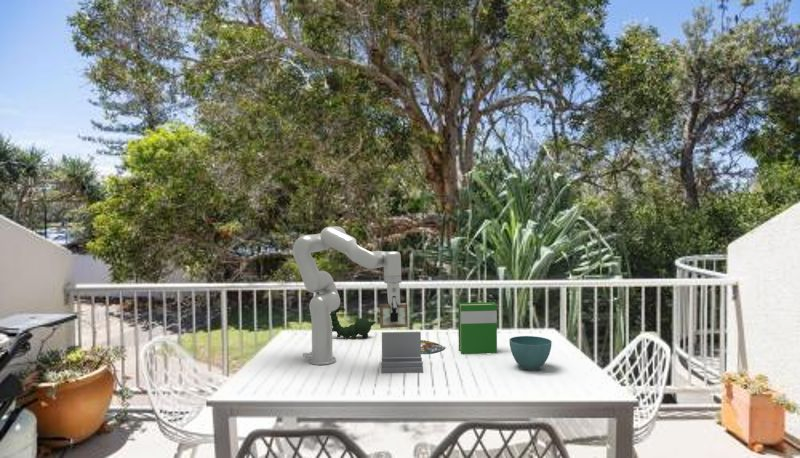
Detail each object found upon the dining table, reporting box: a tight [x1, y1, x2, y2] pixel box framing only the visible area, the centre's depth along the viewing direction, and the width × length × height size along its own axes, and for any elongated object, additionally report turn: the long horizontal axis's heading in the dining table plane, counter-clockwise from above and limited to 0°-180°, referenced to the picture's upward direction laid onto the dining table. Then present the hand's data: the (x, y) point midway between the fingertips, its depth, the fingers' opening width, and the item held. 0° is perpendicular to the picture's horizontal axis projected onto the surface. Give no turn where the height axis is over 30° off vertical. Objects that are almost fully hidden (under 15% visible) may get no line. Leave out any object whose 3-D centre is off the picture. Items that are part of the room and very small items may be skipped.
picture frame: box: [379, 302, 409, 329], centre depth 244 cm, size 12×4×10 cm, turn 95°
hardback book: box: [457, 301, 498, 355], centre depth 273 cm, size 18×7×24 cm, turn 94°
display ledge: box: [380, 331, 424, 374], centre depth 247 cm, size 18×18×14 cm
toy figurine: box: [330, 306, 377, 340], centre depth 306 cm, size 9×19×25 cm
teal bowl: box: [508, 335, 553, 371], centre depth 244 cm, size 18×18×12 cm
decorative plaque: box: [421, 339, 446, 355], centre depth 283 cm, size 30×3×30 cm
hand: (393, 320), depth 244 cm, fingers closed on picture frame, 4 cm apart
